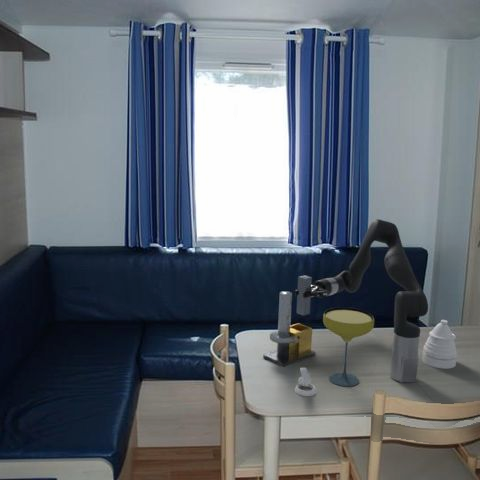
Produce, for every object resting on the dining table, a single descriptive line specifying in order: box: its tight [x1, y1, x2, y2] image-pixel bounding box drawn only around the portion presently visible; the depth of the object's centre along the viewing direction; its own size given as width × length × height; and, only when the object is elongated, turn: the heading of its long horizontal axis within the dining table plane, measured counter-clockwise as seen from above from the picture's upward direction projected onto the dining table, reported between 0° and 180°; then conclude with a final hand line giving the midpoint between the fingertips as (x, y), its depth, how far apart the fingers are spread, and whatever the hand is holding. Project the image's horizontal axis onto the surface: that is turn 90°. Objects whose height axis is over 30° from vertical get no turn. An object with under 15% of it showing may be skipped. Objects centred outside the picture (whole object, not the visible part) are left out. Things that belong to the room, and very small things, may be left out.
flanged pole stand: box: [262, 291, 316, 368], centre depth 219 cm, size 19×11×27 cm, turn 132°
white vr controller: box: [294, 367, 317, 397], centre depth 190 cm, size 8×12×7 cm
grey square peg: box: [296, 274, 313, 317], centre depth 231 cm, size 4×4×16 cm
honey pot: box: [421, 319, 458, 369], centre depth 219 cm, size 13×13×18 cm
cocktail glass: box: [322, 307, 375, 388], centre depth 199 cm, size 18×18×25 cm
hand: (299, 294), depth 229 cm, fingers closed on grey square peg, 4 cm apart
